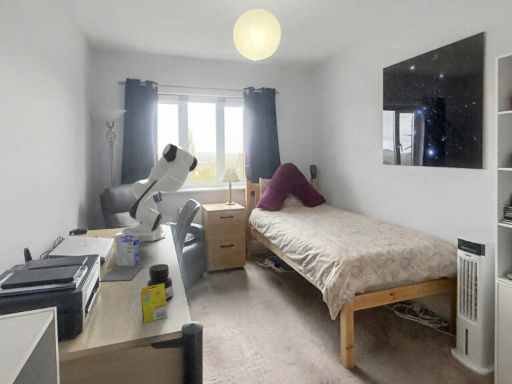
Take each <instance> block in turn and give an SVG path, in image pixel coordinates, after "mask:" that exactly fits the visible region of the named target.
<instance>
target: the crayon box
mask: <svg viewBox="0 0 512 384" xmlns="http://www.w3.org/2000/svg"><path fill="white" fill-rule="evenodd" d="M152 287H156V288H152ZM149 288H152V289H149ZM140 297H141V298H140V300H141V310H142V311H141V313H142V320H143V323H144V324H147V323H150V322H153V321H156V320H160V319H164V318H167V317H168V312H167V311H168V310H167V309H168V307H167V301H166V296H165V286H164V283H162V284H158V285H153V286H149V287H147V286H146V287H142V288H141V290H140Z"/></svg>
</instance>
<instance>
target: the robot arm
mask: <svg viewBox="0 0 512 384" xmlns="http://www.w3.org/2000/svg"><path fill="white" fill-rule="evenodd" d="M197 166H198V159H197V158H196V156H194V155H192V154H191V153H190V152H189V151H187V150H186V149H183V148H182V147H180V146H178V145H177V144H175V143H172V142H171V143H168V144H167V145H165V147H164V148H163V149H162V156H161V157H160V159H158V161H157V162H156V163H155V164H154V165H153V166H152V168H151V169H150V173H149V175H148V177H147V178H145V179H139V180H137V181H135V182H134V183H133V184H132V185H131V187H130V189H131V193H132V195H133V196H134V197H135V198H136V201H135V202H134V203H133V204H132V205H131V206H130V207H129V209H128V214H129V217H130V218H131V219H133V220H136V221H138V222H139V224H138V225H137V226H133V227H130V228H129V227H128V228H124V229H122V230H121V231H119V232H118V233H116V234H114V242H115V243H116V242H117V241H119V240H122V239H125V236H126V235H132V238H131V237H129V236H128V237H126V238H131V240H139V244H140V243H143V242H153V241H157V240H161V239H166V236H167V235H166V234H167V231H163V225H162V221H163V216H162V213H161V212H159V211H158V203H156V201H155V199H154V196H156V195H157V194H158V193H162V192H163V193H168V194H169V193H171V194H172V193H177V192H178V191H179V190H181V188H182V186H183V185H184V183H185V181H186V179H187V178H188V175H189V173H190V172H193V171H194V170H195V169H196V167H197Z"/></svg>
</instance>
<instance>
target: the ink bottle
mask: <svg viewBox="0 0 512 384" xmlns="http://www.w3.org/2000/svg"><path fill="white" fill-rule="evenodd" d="M148 270H149V280H148V281H147V285H146V287H149V286H153V285H158V284H162V283H164V286H165V296H166V302H168V301H169V300H171V299H172V298H173V296H174V291H173V290H174V289H173V280H172V278H171V277H170V275H169V274H170V270H169V265H168V264H165V263H158V264H154V265H151V266H149V268H148ZM152 288H156V287H152ZM152 288H149V289H152Z"/></svg>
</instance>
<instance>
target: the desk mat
mask: <svg viewBox="0 0 512 384" xmlns="http://www.w3.org/2000/svg"><path fill="white" fill-rule="evenodd" d="M143 268H144V265H136V266H113V267H112V268H111V269H110V270H109V271H107V272H106V273H105V274H104V275H102V277H101V282H100V283H102V282H124V281H125V282H126V281H132V280H133V279H134V278H135V276H137V275H138V274H139V272H141V271H142V269H143Z"/></svg>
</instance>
